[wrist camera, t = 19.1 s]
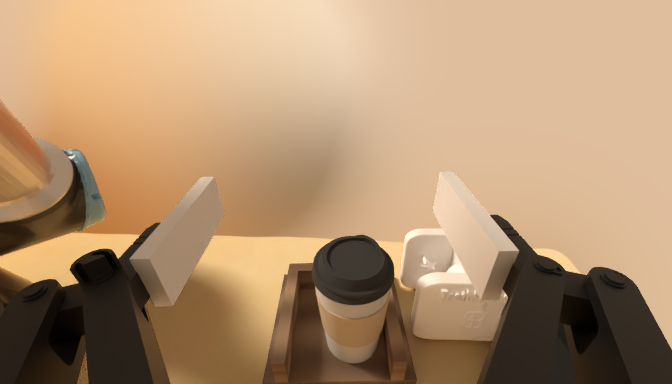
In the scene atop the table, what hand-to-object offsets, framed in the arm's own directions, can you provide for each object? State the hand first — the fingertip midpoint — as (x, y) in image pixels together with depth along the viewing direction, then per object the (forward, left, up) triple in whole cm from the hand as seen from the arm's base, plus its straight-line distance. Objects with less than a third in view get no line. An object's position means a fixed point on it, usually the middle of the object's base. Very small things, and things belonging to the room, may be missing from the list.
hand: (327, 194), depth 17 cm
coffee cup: (-2, +8, -27) cm, 28 cm away
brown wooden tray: (-5, +9, -28) cm, 30 cm away
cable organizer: (+9, +19, -28) cm, 35 cm away
